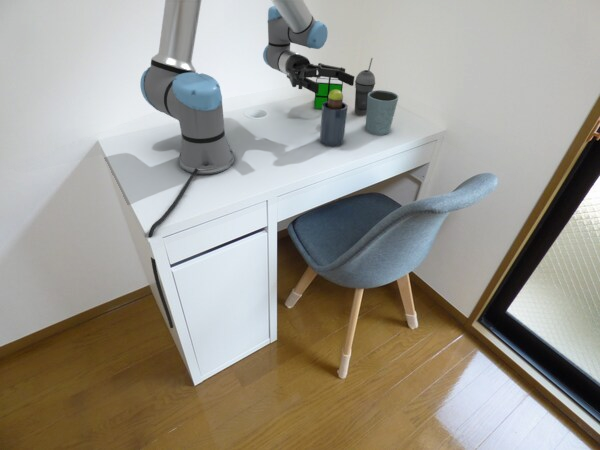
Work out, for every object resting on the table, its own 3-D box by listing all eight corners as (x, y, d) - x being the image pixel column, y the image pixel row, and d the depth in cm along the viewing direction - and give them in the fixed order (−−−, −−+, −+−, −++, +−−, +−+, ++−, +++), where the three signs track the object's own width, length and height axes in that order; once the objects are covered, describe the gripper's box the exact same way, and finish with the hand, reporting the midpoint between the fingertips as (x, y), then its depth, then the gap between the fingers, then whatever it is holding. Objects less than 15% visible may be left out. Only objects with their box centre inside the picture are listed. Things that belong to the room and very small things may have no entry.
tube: (335, 148, 115) (339, 112, 107) (315, 142, 118) (317, 105, 110) (347, 140, 120) (351, 104, 112) (327, 134, 123) (330, 98, 115)
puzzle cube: (340, 101, 147) (343, 75, 140) (340, 111, 139) (343, 84, 132) (315, 99, 147) (317, 74, 141) (313, 109, 139) (315, 82, 133)
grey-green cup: (373, 137, 122) (380, 102, 114) (356, 125, 129) (361, 92, 121) (397, 132, 126) (405, 98, 118) (379, 121, 133) (385, 88, 125)
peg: (333, 144, 116) (339, 93, 106) (322, 140, 118) (326, 90, 108) (340, 139, 119) (346, 89, 109) (329, 135, 121) (333, 86, 111)
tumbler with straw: (356, 108, 142) (364, 53, 129) (373, 113, 139) (383, 57, 126) (347, 113, 137) (354, 57, 124) (364, 118, 134) (373, 61, 121)
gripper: (323, 72, 129) (364, 90, 116) (263, 83, 117) (301, 105, 104) (325, 49, 124) (368, 65, 111) (262, 58, 112) (302, 78, 99)
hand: (335, 84), depth 108 cm, fingers open, 13 cm apart
